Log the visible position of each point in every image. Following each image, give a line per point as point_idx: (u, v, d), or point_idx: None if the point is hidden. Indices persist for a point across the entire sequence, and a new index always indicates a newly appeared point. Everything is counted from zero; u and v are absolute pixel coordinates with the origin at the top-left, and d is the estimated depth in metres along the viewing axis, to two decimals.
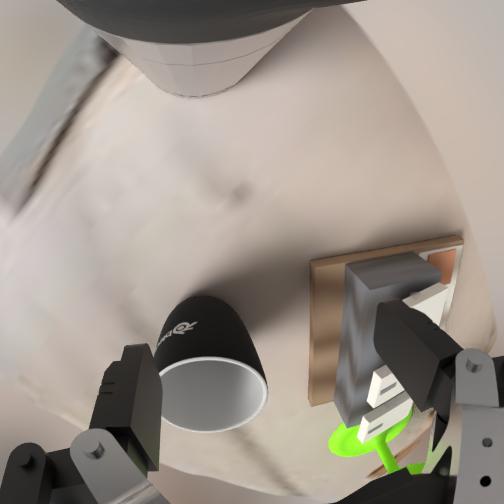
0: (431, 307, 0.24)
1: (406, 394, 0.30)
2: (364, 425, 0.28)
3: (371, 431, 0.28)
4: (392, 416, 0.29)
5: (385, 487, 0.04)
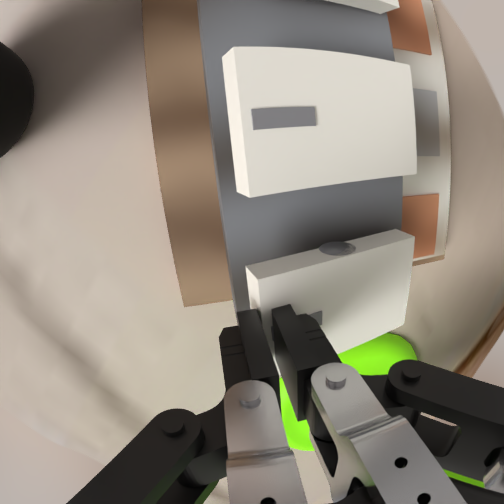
0: None
1: (386, 236, 0.12)
2: (254, 301, 0.11)
3: None
4: (355, 298, 0.12)
5: None
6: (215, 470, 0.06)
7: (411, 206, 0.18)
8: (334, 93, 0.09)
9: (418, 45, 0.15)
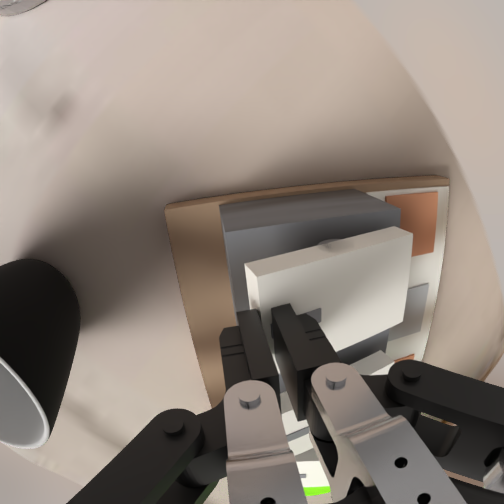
0: (374, 273, 0.12)
1: None
2: None
3: None
4: None
5: None
6: (216, 471, 0.06)
7: None
8: None
9: (422, 247, 0.20)
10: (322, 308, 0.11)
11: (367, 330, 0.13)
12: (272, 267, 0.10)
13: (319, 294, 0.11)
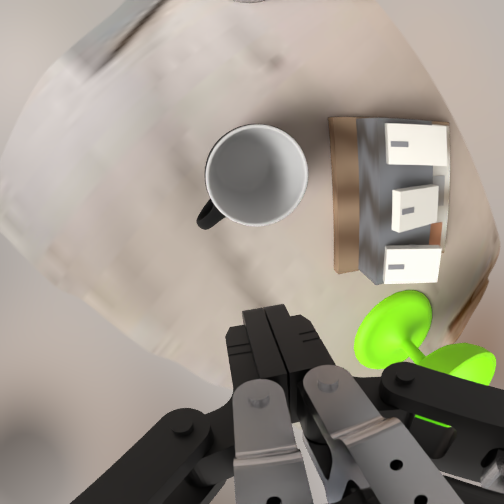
0: (429, 136, 0.28)
1: (432, 246, 0.33)
2: (385, 256, 0.35)
3: (392, 268, 0.34)
4: (416, 264, 0.33)
5: None
6: (224, 470, 0.06)
7: (430, 228, 0.40)
8: (418, 201, 0.31)
9: None
10: (408, 142, 0.29)
11: (428, 161, 0.29)
12: (392, 123, 0.29)
13: (407, 136, 0.28)
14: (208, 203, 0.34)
